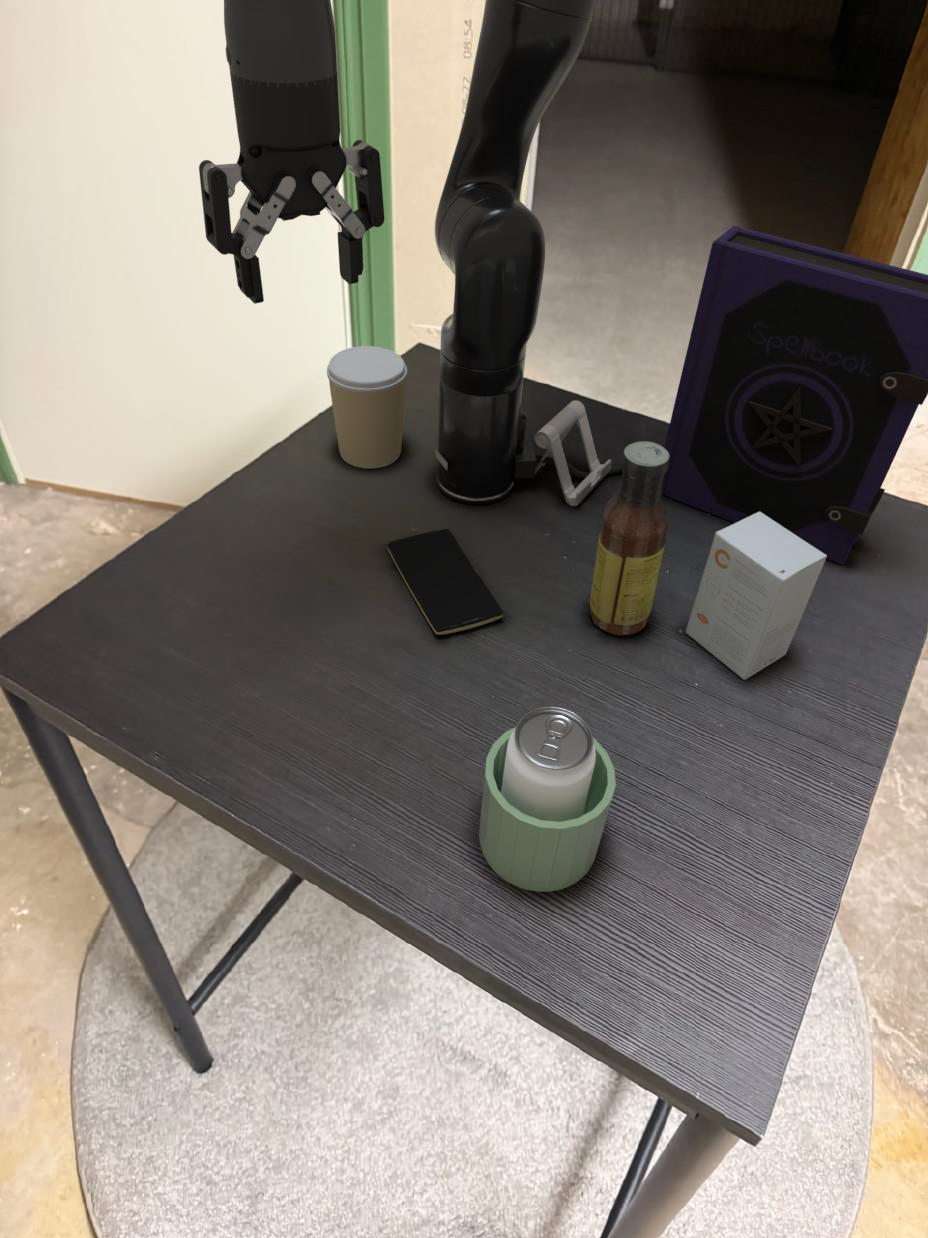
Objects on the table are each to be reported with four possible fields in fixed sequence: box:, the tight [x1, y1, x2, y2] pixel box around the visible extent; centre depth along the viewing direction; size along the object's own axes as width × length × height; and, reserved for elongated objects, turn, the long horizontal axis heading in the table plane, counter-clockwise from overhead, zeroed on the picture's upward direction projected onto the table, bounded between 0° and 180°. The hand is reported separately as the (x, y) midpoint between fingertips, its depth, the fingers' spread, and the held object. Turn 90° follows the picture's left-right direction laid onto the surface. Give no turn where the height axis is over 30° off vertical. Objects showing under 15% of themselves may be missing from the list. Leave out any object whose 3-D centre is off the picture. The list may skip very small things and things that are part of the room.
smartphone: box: [386, 528, 504, 636], centre depth 91 cm, size 7×1×15 cm
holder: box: [478, 726, 617, 893], centre depth 67 cm, size 10×10×9 cm
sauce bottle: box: [589, 440, 670, 637], centre depth 82 cm, size 7×6×20 cm
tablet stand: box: [533, 399, 613, 508], centre depth 103 cm, size 9×8×8 cm
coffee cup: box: [326, 345, 408, 469], centre depth 105 cm, size 9×9×12 cm
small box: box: [685, 512, 827, 681], centre depth 83 cm, size 8×6×13 cm
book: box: [662, 225, 928, 566], centre depth 92 cm, size 24×6×30 cm, turn 56°
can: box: [501, 706, 596, 822], centre depth 66 cm, size 6×6×12 cm
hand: (303, 289), depth 72 cm, fingers open, 8 cm apart
